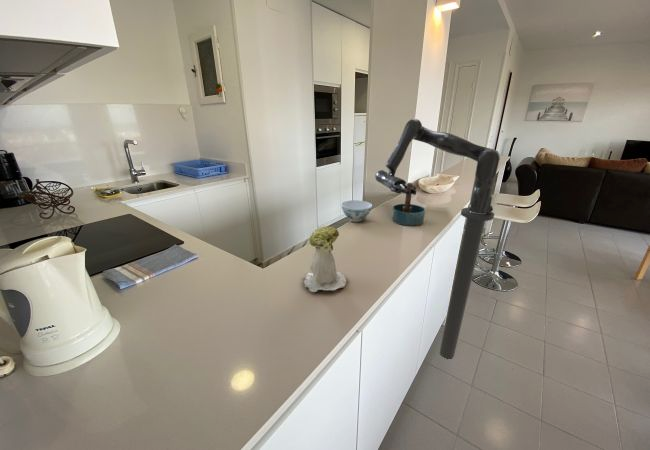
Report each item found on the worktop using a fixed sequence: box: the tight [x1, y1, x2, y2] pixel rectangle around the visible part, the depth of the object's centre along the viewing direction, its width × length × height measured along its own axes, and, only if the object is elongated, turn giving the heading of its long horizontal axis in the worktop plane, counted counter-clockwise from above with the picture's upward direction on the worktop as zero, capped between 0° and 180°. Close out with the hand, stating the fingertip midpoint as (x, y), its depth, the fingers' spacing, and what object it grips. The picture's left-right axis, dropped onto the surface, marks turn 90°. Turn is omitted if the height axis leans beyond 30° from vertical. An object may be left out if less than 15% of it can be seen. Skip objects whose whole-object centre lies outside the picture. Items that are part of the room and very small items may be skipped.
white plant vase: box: [303, 226, 347, 293], centre depth 82 cm, size 12×13×18 cm
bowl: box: [391, 203, 426, 227], centre depth 136 cm, size 15×15×6 cm
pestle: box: [402, 182, 414, 213], centre depth 136 cm, size 4×4×16 cm
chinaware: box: [340, 199, 373, 223], centre depth 137 cm, size 15×15×8 cm
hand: (412, 192), depth 131 cm, fingers closed on pestle, 2 cm apart
